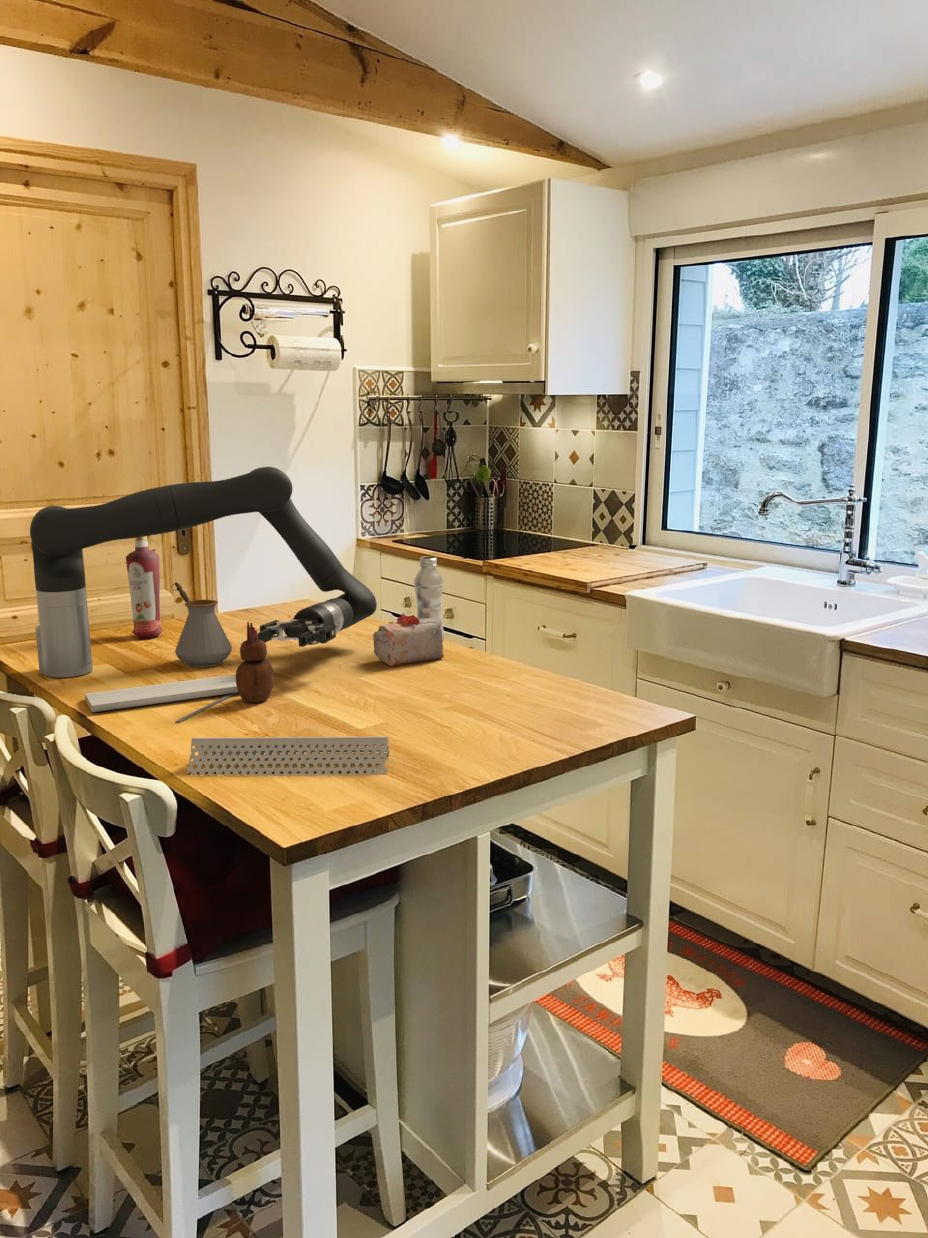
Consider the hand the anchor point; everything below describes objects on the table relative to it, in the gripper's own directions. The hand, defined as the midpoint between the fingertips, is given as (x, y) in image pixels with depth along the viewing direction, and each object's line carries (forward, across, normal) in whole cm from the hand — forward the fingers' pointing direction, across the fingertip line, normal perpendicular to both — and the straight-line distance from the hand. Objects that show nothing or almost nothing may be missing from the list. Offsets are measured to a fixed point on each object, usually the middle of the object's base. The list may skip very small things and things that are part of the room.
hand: (280, 639), depth 189 cm
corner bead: (+38, +22, +10) cm, 45 cm away
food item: (-26, +16, +10) cm, 32 cm away
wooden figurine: (+10, 0, +9) cm, 14 cm away
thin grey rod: (+16, -6, +9) cm, 19 cm away
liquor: (-28, -50, +9) cm, 58 cm away
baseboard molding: (+11, -16, +9) cm, 21 cm away
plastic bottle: (-38, +16, +9) cm, 42 cm away
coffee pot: (-14, -28, +9) cm, 33 cm away
